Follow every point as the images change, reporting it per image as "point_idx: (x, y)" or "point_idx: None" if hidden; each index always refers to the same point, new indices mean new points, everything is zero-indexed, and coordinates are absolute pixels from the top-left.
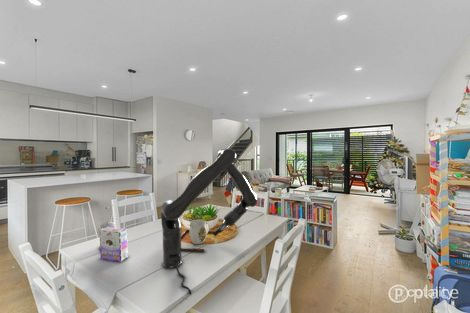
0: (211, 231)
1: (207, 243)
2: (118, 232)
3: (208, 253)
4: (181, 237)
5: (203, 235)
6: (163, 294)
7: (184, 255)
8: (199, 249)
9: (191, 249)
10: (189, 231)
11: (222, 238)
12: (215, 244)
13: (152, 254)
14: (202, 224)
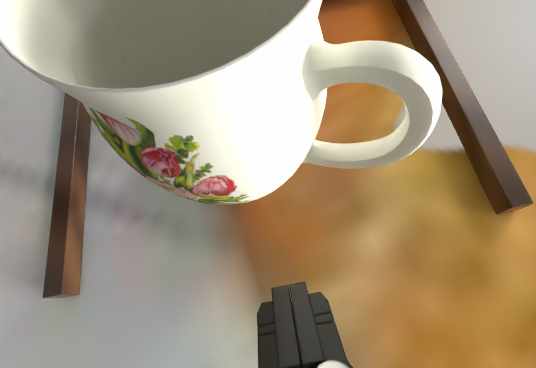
0: (488, 163)
1: (240, 242)
2: None
3: (48, 349)
4: None
5: (167, 190)
6: None
7: (14, 171)
8: (51, 249)
9: (58, 181)
10: (158, 17)
11: (419, 358)
12: (241, 337)
13: None
14: (46, 81)
